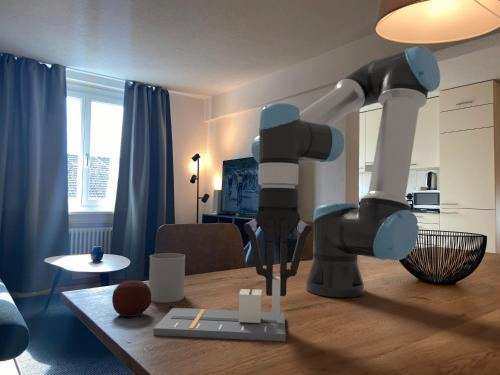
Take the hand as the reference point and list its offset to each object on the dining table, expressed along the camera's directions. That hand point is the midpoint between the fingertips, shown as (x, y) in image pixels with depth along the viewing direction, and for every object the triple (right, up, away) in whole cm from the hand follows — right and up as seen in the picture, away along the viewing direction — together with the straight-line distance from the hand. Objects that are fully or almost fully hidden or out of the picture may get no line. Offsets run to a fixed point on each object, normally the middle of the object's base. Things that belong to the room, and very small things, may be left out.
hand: (275, 313), depth 69 cm
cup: (-25, -3, +20) cm, 32 cm away
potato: (-29, -3, +6) cm, 30 cm away
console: (-10, -3, +1) cm, 10 cm away
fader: (-5, -1, 0) cm, 5 cm away
